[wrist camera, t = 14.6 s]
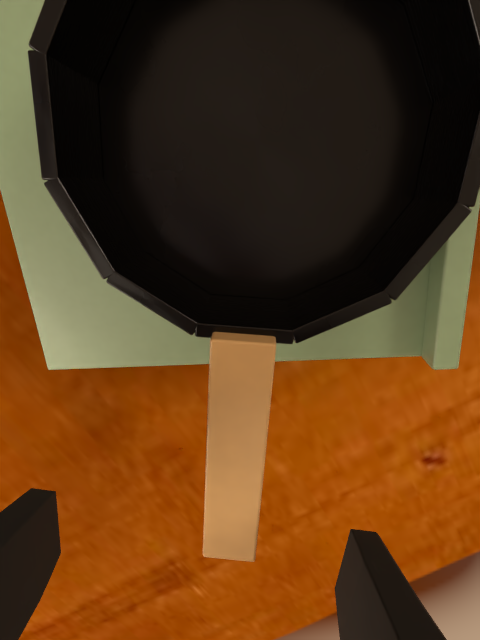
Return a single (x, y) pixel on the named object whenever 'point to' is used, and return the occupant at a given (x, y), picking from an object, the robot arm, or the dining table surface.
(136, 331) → the shelf
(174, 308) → the pan
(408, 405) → the dining table surface
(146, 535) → the dining table surface
